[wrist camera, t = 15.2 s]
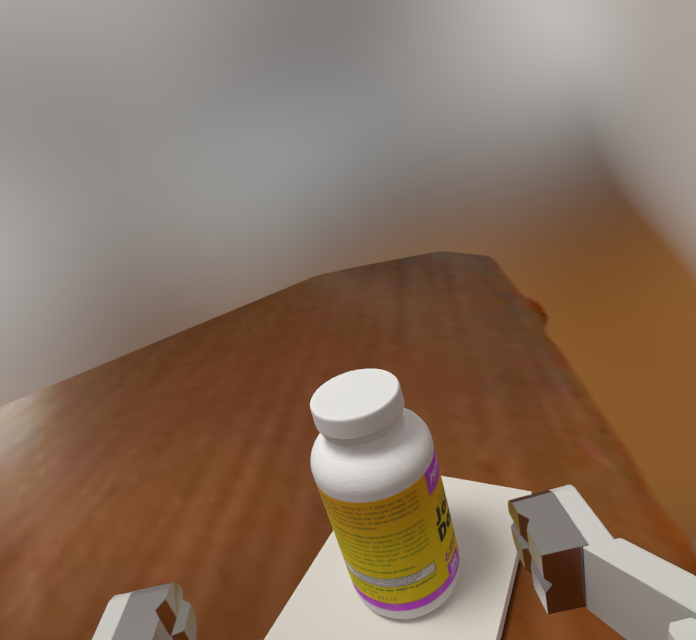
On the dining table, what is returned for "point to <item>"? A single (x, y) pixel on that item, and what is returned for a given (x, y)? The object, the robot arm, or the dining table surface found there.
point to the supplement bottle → (384, 494)
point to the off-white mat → (445, 621)
